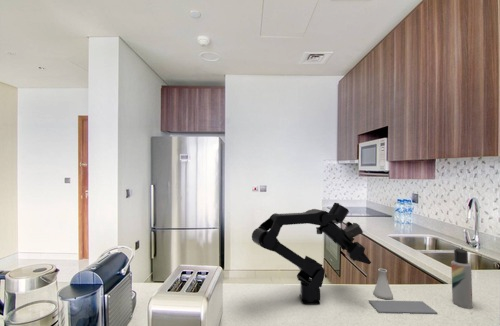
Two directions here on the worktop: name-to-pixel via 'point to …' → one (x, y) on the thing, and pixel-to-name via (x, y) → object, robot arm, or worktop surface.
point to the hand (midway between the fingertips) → (365, 258)
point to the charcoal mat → (402, 307)
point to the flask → (383, 286)
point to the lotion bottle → (461, 279)
